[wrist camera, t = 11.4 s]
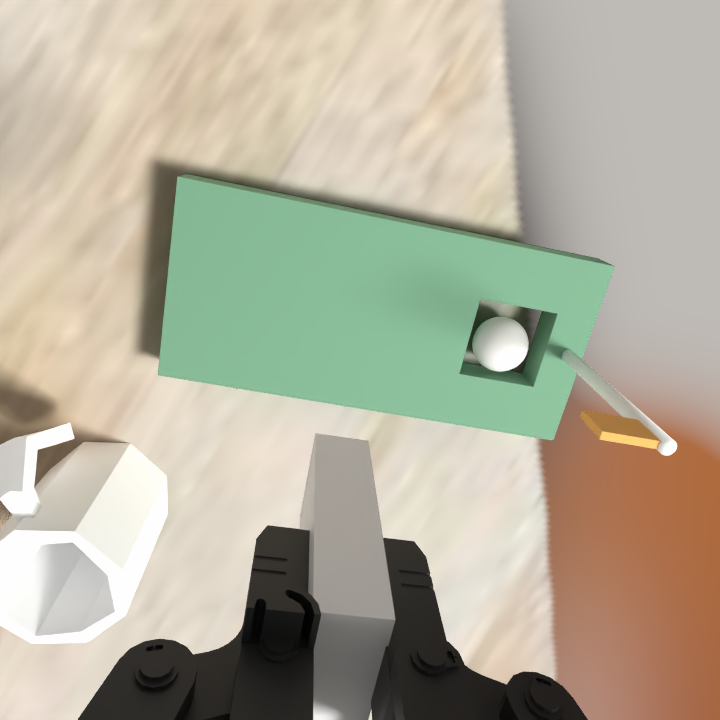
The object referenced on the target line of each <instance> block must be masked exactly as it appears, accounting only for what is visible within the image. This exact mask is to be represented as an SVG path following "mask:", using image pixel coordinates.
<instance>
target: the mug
mask: <svg viewBox="0 0 720 720" xmlns="http://www.w3.org/2000/svg"><path fill="white" fill-rule="evenodd" d="M72 439H74V435H73V431H72V428H71V424H70V423H68V424H64V425H61V426H58V427H55V428H52V429H48V430H44V431H40V432H36V433H32V434H28V435H24V436H20V437H16V438H13V439H11V440H9V441H7V442H4V443H2V444H0V500H1V501H2V503H3V504H4V505H5V506H6V508H7V509H8V510H9V511H10V513H11V514H12V516H11V517H10V518H9V519H8V521H7V522H6V523H5V524H4V525H3V527H2V528H1V529H0V626H2V627H4V628H5V629H7V630H9V631H11V632H12V633H14V634H16V635H18V636H19V637H21V638H23V639H24V640H26V641H28V642H30V643H31V644H47V643H86V642H89V641H90V640H92V639H93V638H95V637H96V636H97V635H99V634H100V633H102V632H103V631H104V630H106V629H107V628H108V627H110V626H111V625H113V624H114V623H115V622H117V621H118V620H120V619H121V618H122V617H124V616H125V615H126V613H127V611H128V608H129V606H130V604H131V601H132V599H133V596H134V594H135V591H136V589H137V587H138V584H139V582H140V579H141V577H142V575H143V572H144V570H145V567H146V565H147V563H148V560H149V558H150V555H151V553H152V551H153V548H154V546H155V543H156V541H157V539H158V536H159V534H160V531H161V529H162V526H163V524H164V522H165V519H166V517H167V514H168V502H167V476H166V475H165V474H164V473H163V472H162V471H161V470H160V469H159V468H157V467H156V466H155V465H154V464H153V463H152V462H151V461H150V460H148V459H147V458H146V457H145V456H144V455H143V454H142V453H141V452H140V451H138V450H137V449H136V448H135V447H134V446H133V445H132V444H131V443H108V442H83V443H81V444H80V445H79V446H78V447H77V448H75V449H74V450H73V451H72V452H70V453H69V454H68V455H67V456H66V457H64V458H63V459H62V460H61V461H59V462H58V463H57V464H56V465H54V466H53V467H52V468H51V469H50V470H49V471H48V472H47V473H46V474H45V476H44V477H43V478H42V479H41V480H40V482H39V483H38V484H37V485H36V486H35V488H34V484H35V473H36V462H37V451H38V450H39V449H42V448H46V447H49V446H53V445H56V444H60V443H63V442H66V441H69V440H72Z"/></svg>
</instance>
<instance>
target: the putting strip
mask: <svg viewBox="0 0 720 720" xmlns="http://www.w3.org/2000/svg"><path fill="white" fill-rule="evenodd" d="M613 270H614V266H613V265H611V264H609V263H607V262H604V261H602V260H600V259H598V258H593V257H588V256H583V255H578V254H574V253H569V252H563V251H559V250H554V249H549V248H544V247H539V246H535V245H530V244H525V243H520V242H515V241H510V240H506V239H501V238H496V237H491V236H486V235H481V234H477V233H472V232H467V231H462V230H457V229H452V228H447V227H443V226H438V225H433V224H428V223H423V222H418V221H413V220H409V219H404V218H399V217H394V216H389V215H384V214H379V213H375V212H370V211H365V210H360V209H355V208H350V207H345V206H341V205H336V204H331V203H326V202H321V201H316V200H311V199H307V198H302V197H297V196H292V195H287V194H282V193H278V192H273V191H268V190H263V189H258V188H253V187H248V186H244V185H239V184H234V183H229V182H224V181H219V180H214V179H210V178H205V177H200V176H195V175H190V174H184V175H181V176H178V177H177V186H176V196H175V206H174V216H173V226H172V236H171V246H170V256H169V267H168V277H167V287H166V297H165V307H164V317H163V327H162V338H161V348H160V358H159V368H158V375H160V376H166V377H172V378H178V379H184V380H190V381H196V382H202V383H208V384H214V385H220V386H226V387H233V388H239V389H245V390H251V391H257V392H263V393H269V394H275V395H281V396H287V397H293V398H299V399H305V400H311V401H317V402H323V403H329V404H335V405H341V406H347V407H354V408H360V409H366V410H372V411H378V412H384V413H390V414H396V415H402V416H408V417H414V418H420V419H426V420H432V421H438V422H444V423H450V424H456V425H462V426H469V427H475V428H481V429H487V430H493V431H499V432H505V433H511V434H517V435H523V436H529V437H535V438H541V439H548V440H553V439H554V436H555V434H556V431H557V428H558V425H559V422H560V420H561V417H562V414H563V411H564V408H565V405H566V402H567V400H568V397H569V394H570V391H571V388H572V386H573V383H574V380H575V377H576V374H578V375H579V376H581V377H582V378H583V379H584V380H585V381H586V382H587V383H588V384H589V385H590V386H591V387H592V388H593V389H594V390H595V391H596V392H597V393H598V394H599V395H600V396H601V397H603V398H604V399H605V400H606V401H607V402H608V403H609V404H610V405H611V406H612V407H613V408H614V409H615V410H616V411H617V412H618V413H619V414H620V415H621V416H622V417H620V416H614V415H608V414H603V413H597V412H591V411H585V410H582V413H581V416H580V418H581V419H582V420H583V422H584V423H585V424H586V425H587V426H588V427H589V428H590V429H591V431H592V432H593V433H594V434H595V435H596V436H597V437H598V438H599V439H600V440H606V441H613V442H619V443H625V444H630V445H636V446H642V447H648V448H655V449H657V450H658V451H659V452H660V453H661V454H663V455H671V454H672V453H674V451H675V450H676V448H677V443H676V442H675V441H674V440H673V439H672V438H671V437H669V436H668V435H667V434H666V433H665V432H664V431H663V430H661V429H660V428H659V427H658V426H657V425H656V424H655V423H653V422H652V421H651V420H650V419H649V418H648V417H647V416H646V415H645V414H643V413H642V412H641V411H640V410H639V409H638V408H637V407H635V406H634V405H633V404H632V403H631V402H630V401H629V400H628V399H626V398H625V397H624V396H623V395H622V394H621V393H620V392H619V391H617V390H616V389H615V388H614V387H613V386H612V385H611V384H609V383H608V382H607V381H606V380H605V379H604V378H603V377H602V376H600V375H599V374H598V373H597V372H596V371H595V370H594V369H592V368H591V367H590V366H589V365H588V364H587V363H586V362H585V361H583V360H582V357H583V355H584V352H585V349H586V346H587V343H588V341H589V338H590V335H591V332H592V329H593V326H594V324H595V320H596V318H597V315H598V312H599V309H600V307H601V304H602V301H603V298H604V295H605V292H606V290H607V287H608V284H609V281H610V278H611V275H612V273H613ZM480 299H484V300H489V301H494V302H500V303H505V304H510V305H515V306H520V307H526V308H531V309H536V310H542V313H541V316H540V319H539V322H538V325H537V329H536V332H535V335H534V338H533V341H532V344H531V347H530V350H529V353H528V357H527V360H526V363H525V366H524V369H523V372H522V373H519V372H513V371H503V372H498V371H492V370H490V369H487V368H485V367H484V366H479V365H474V364H468V363H463V359H464V356H465V352H466V348H467V345H468V341H469V338H470V334H471V331H472V327H473V324H474V320H475V317H476V313H477V310H478V306H479V302H480Z"/></svg>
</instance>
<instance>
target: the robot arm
mask: <svg viewBox="0 0 720 720" xmlns="http://www.w3.org/2000/svg"><path fill="white" fill-rule="evenodd" d="M371 709H372V720H588V719H587V718H586V716H585V715H584V713H583V712H582V710H581V709H580V708H579V706H578V705H577V703H576V702H575V700H574V699H573V697H572V696H571V695H570V694H569V693H568V692H567V691H566V690H565V688H564V687H563V686H562V685H560V684H559V683H557V682H556V681H554V680H553V679H551V678H550V677H547V676H545V675H542V674H539V673H537V672H521V673H518V674H516V675H513V677H512V678H511V680H510V681H509V682H508V684H507V685H506V684H504V683H501V682H498V681H496V680H493V679H491V678H488V677H485V676H483V675H481V674H479V673H476V672H474V671H472V670H471V669H469V668H468V667H467V666H465V665H464V662H463V660H462V658H461V656H460V654H459V652H458V651H457V650H456V649H455V648H454V647H453V646H452V645H451V644H450V643H449V642H447V640H446V637H445V632H444V628H443V624H442V620H441V616H440V612H439V608H438V604H437V600H436V596H435V592H434V590H433V583H432V579H431V577H430V571H429V567H428V563H427V559H426V556H425V555H424V554H423V552H422V551H421V550H420V548H419V547H418V546H417V545H416V543H415V542H414V541H406V540H397V539H389V538H383V535H382V528H381V521H380V515H379V508H378V502H377V495H376V489H375V482H374V476H373V469H372V462H371V456H370V449H369V443H368V441H366V440H359V439H352V438H345V437H337V436H330V435H323V434H315V439H314V444H313V450H312V455H311V460H310V466H309V471H308V476H307V482H306V487H305V492H304V498H303V503H302V508H301V514H300V529H293V528H285V527H277V526H267V527H266V528H265V529H264V530H263V532H262V533H261V534H260V535H259V536H258V538H257V539H256V546H255V552H254V558H253V564H252V571H251V577H250V583H249V590H248V596H247V603H246V609H245V616H244V622H243V626H242V629H241V631H240V632H239V633H238V635H237V636H236V637H235V638H234V639H233V640H232V641H231V642H230V643H228V644H227V645H225V646H223V647H221V648H219V649H216V650H213V651H209V652H205V653H199V654H194V655H193V654H192V653H191V652H190V650H189V649H188V648H187V647H186V646H184V645H182V644H180V643H178V642H176V641H173V640H165V639H156V640H150V641H145V642H142V643H140V644H138V645H136V646H134V647H132V648H130V649H129V650H128V651H127V652H126V653H125V654H124V655H123V656H122V657H121V658H120V659H119V661H118V662H117V663H116V665H115V666H114V668H113V669H112V671H111V672H110V674H109V675H108V676H107V678H106V679H105V681H104V682H103V684H102V685H101V687H100V688H99V689H98V691H97V692H96V694H95V695H94V697H93V698H92V700H91V701H90V702H89V704H88V705H87V707H86V708H85V710H84V711H83V713H82V714H81V715H80V717H79V718H78V720H368V718H369V715H370V711H371Z"/></svg>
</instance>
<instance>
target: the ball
mask: <svg viewBox="0 0 720 720" xmlns="http://www.w3.org/2000/svg"><path fill="white" fill-rule="evenodd" d="M528 346H529V341H528V336H527V334H526V331H525V330H524V328H523V327H522V326H521V325H520V324H519V323H518V322H516V321H515V320H513V319H510V318H507V317H494V318H491V319H488V320H486V321H485V322H483V323H482V324H481V325H480V326H479V327H478V328H477V330H476V332H475V334H474V336H473V341H472V348H473V352H474V355H475V357H476V359H477V360H478V361H479V363H480V364H481V365H483V366H484V367H485V368H487V369H490V370H492V371H498V372H503V371H508V370H511V369H513V368H515V367H517V366H518V365H519V364H520V363H521V362H522V361H523V360H524V358H525V356H526V354H527V352H528Z"/></svg>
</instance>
